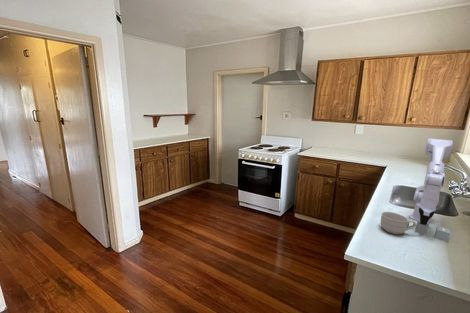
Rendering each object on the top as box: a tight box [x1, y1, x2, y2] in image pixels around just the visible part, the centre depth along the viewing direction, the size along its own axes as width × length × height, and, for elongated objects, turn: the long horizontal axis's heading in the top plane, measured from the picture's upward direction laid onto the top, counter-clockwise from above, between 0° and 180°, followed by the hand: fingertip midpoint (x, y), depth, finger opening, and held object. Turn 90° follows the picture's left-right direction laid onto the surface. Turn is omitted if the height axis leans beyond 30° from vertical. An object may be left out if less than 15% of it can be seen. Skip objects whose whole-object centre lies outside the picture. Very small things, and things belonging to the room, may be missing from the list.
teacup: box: [380, 211, 417, 235], centre depth 110 cm, size 14×11×8 cm
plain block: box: [414, 220, 430, 236], centre depth 111 cm, size 4×4×4 cm
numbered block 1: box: [434, 225, 451, 243], centre depth 106 cm, size 4×4×5 cm
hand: (422, 224), depth 110 cm, fingers closed, pressing on plain block
